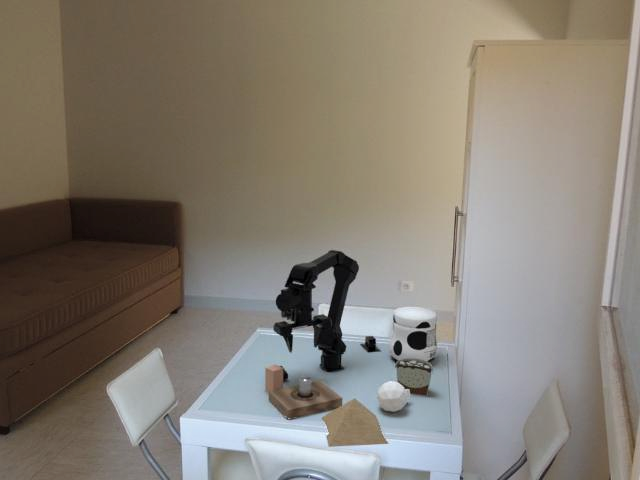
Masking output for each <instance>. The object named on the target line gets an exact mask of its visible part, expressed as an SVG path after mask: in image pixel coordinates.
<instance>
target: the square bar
mask: <svg viewBox="0 0 640 480" xmlns="http://www.w3.org/2000/svg"><path fill="white" fill-rule="evenodd" d="M280 366H281V365H277V364H272V365H269V366H266V367H265V373H264V375H265V378H264V379H265V384H264V385H265V389H264V390H265V392H266V393H268V394H269V391H271V390H276V389H281V388H284V380H283V368H284V367H283V368H282V367H280Z"/></svg>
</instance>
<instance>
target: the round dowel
mask: <svg viewBox="0 0 640 480" xmlns="http://www.w3.org/2000/svg"><path fill="white" fill-rule="evenodd" d="M298 380H299V384H298V385H299V397H301V398H310V397H311V382H312V377H310V376H301V377H300V378H299V379H298Z"/></svg>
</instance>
